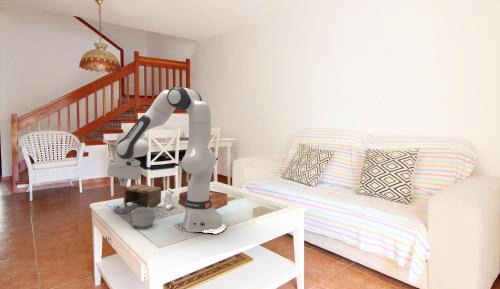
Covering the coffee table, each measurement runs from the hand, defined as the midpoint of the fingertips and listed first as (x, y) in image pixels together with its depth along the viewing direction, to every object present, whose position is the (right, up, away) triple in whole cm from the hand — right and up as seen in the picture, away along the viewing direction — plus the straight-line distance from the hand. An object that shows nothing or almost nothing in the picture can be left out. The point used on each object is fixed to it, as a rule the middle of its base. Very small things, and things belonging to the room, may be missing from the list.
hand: (123, 185), depth 161 cm
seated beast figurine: (+21, -16, +14) cm, 30 cm away
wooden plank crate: (+4, -14, +18) cm, 23 cm away
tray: (0, -15, +4) cm, 15 cm away
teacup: (+18, -18, -16) cm, 30 cm away
